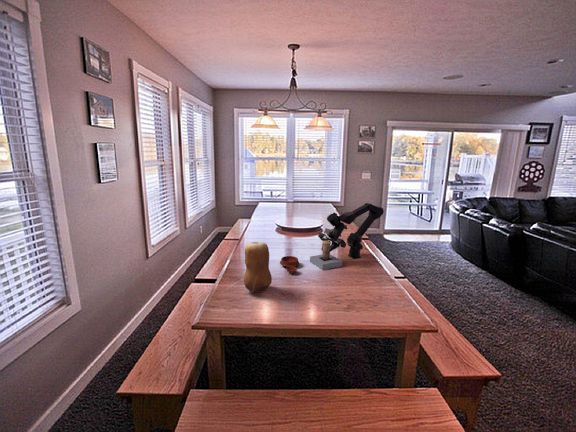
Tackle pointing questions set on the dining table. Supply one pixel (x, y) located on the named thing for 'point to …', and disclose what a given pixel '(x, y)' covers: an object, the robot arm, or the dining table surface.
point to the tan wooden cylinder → (325, 248)
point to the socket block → (325, 262)
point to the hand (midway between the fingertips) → (324, 251)
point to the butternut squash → (257, 267)
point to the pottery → (290, 263)
